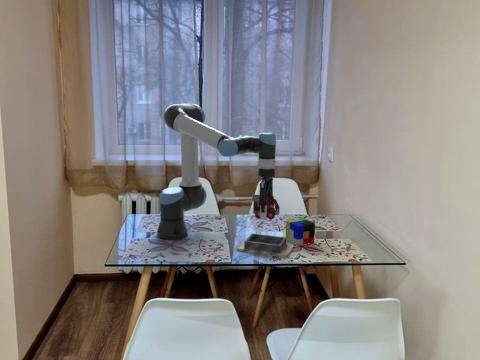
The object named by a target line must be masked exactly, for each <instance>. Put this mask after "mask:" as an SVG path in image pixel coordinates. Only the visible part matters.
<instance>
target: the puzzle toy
mask: <svg viewBox="0 0 480 360" xmlns="http://www.w3.org/2000/svg"><path fill="white" fill-rule="evenodd" d="M315 231H316V223H315V222H312V221H310V220H309V219H306V218H304V217H300V218H294V219H288V220H287V219H286V220H285V237H286V238H287V242H288V243H290V242H291V243H290V244H292V243H293V244H292V245H294V244H295V245H294V246H296V247H300V246H299V245H301V246H304V245H303V244H307V245H309V244H308V243H312V244H315V237H316V236H315Z"/></svg>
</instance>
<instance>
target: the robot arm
mask: <svg viewBox="0 0 480 360" xmlns="http://www.w3.org/2000/svg"><path fill="white" fill-rule="evenodd" d="M163 120H164V123H165V125H166V126H167V127H168V128H169V129H171V130H172V131H175V132H178V133H179V134H180V152H181V153H180V154H181V155H180V158H181V181H180V182H179V184H178V186H173V187H167V188H164V189H163V190H161V192H160V194H159V213H160V215H159V217H160V221H159V224H158V227H157V231H156V235H157V236H156V237H158V238H159V239H162V240H169V241H171V240H172V241H173V240H180V239H184V238H186V237H187V236H188V234H189V233H188V228H187V224H186V222H185V212H188V211H191V210H195V209H199V208H200V207H202V206H203V205H204V204H205V203H206V201H207V197H208V196H207V191H206V190H205V187H204V186H203V183H202V182H201V181H200V180H199V178H200V176H199V173H200V172H199V171H200V170H199V141H200V142H202V143H204V144H206V145H208V146H210V147H212V148H214V149H216V150H218V153H219V154H220V155H221V156H222V157H229V158H230V157H233V156H239V155H243V154H258V162H257V164H258V171H257V173H258V177H261V178H262V179H261V181H260V183H259V194H258V195H259V204H258V205H260V220H267V208H269V207H268V204H269V203H268V204H267V205H266V200H267V196H268V197H270V195H273V196H274V186H273V183H274V182H273V181H274V177H275V176H276V168H275V167H276V163H277V160H276V151H277V150H276V148H277V147H276V145H277V139H276V137H277V136H276V134H275V133H274V132H260V133H259V134H258V136H253V135H244V134H243V135H238V136H237V137H232V136H229V135H228V134H225V133H223V132H221V131H219V130H217V129H215V128H213V127H210V126H209V125H206V124H204V123H205V120H206V114H205V111H204V109H203V108H202V107H201V106H200V105H198V104H196V103H180V104H179V103H177V104H175V103H174V104H172V105H169V106H168V107H167V108H166V109H165V110H164V113H163Z"/></svg>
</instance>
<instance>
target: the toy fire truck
mask: <svg viewBox="0 0 480 360" xmlns="http://www.w3.org/2000/svg"><path fill="white" fill-rule="evenodd" d="M259 195H260V194H253V195H252V202H253V209H252V210H253V211H252V212H253V214H254V216H255V218H256V219H260V205H258V204H259ZM268 203H269V204H268ZM267 204H268V207H269V208H267V217H266V219H268V220H273V219H275V218H276V216H279V215H280V205H279V203H278V201H277V199H276V198H275V196H274V194H273V195H270V197H268V196H267V200H266V205H267ZM260 220H261V219H260Z"/></svg>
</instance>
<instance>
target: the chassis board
mask: <svg viewBox="0 0 480 360" xmlns="http://www.w3.org/2000/svg"><path fill="white" fill-rule="evenodd" d="M287 242H288V241H287V238H286V236H285V237H284V236H278V235H277V236H276V235H269V234H262V233H253V232H252V233H250V235H249V236H248V237H247V238H244V240H242V242H241V243H240V244H239V245H238V246H237V247H236V250H235V251H239V252H246V253H252V254H253V253H254V254H260V255H266V256H267V255H268V256H272V257H273V256H275V257H282V258H288V257H289V256H290V254H291V253H292V251H293V249H294V248H295V245H294V244H292V243H287ZM293 247H294V248H293ZM290 252H291V253H290Z"/></svg>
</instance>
